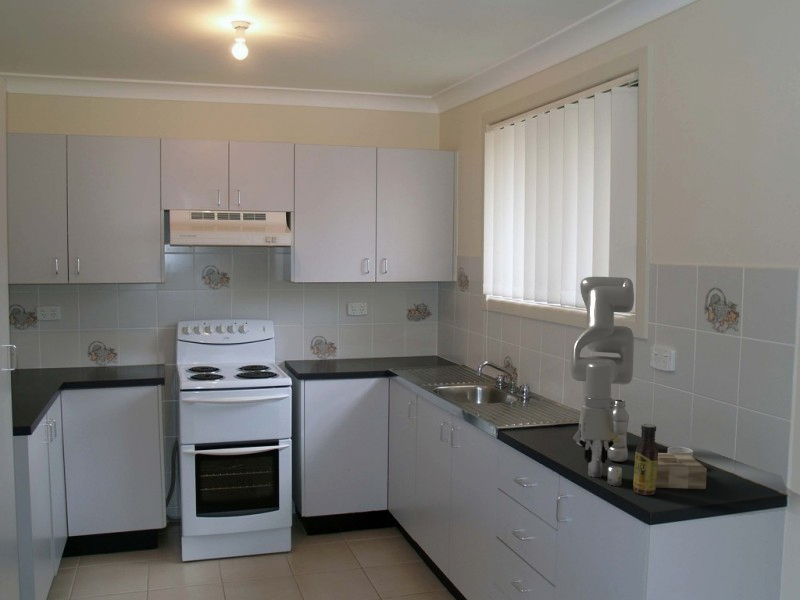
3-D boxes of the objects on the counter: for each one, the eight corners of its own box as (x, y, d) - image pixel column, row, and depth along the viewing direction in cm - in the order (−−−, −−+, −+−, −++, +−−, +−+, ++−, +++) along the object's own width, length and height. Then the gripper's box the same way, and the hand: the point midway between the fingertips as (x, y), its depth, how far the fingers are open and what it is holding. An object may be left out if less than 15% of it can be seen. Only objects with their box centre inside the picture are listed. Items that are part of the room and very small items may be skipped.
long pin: (586, 473, 237) (588, 435, 236) (599, 473, 237) (601, 435, 236) (589, 477, 233) (591, 438, 232) (602, 477, 233) (604, 439, 232)
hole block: (635, 471, 241) (636, 452, 240) (687, 472, 240) (688, 453, 240) (650, 487, 225) (651, 467, 224) (705, 488, 224) (706, 468, 224)
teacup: (683, 462, 252) (684, 446, 252) (697, 469, 245) (698, 452, 244) (656, 463, 250) (656, 447, 249) (669, 470, 242) (670, 453, 242)
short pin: (605, 482, 229) (606, 465, 229) (619, 482, 229) (619, 465, 229) (609, 486, 225) (609, 469, 225) (623, 486, 225) (623, 469, 225)
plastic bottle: (605, 462, 250) (608, 401, 248) (608, 457, 256) (610, 398, 255) (626, 464, 247) (629, 403, 246) (628, 459, 254) (630, 399, 252)
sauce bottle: (628, 489, 222) (631, 422, 221) (648, 488, 224) (651, 421, 222) (640, 497, 216) (643, 427, 214) (660, 496, 217) (664, 426, 216)
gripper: (622, 401, 237) (619, 459, 238) (567, 399, 238) (565, 457, 239) (628, 406, 229) (626, 466, 231) (572, 404, 230) (570, 464, 231)
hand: (595, 461), depth 235 cm, fingers closed on long pin, 4 cm apart
